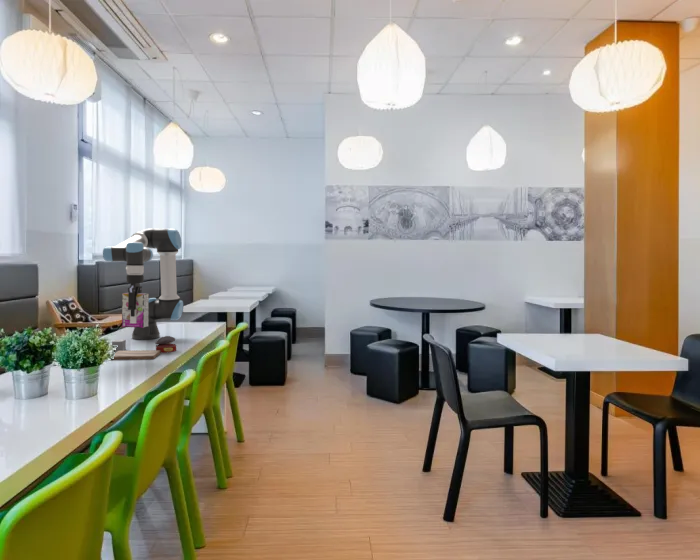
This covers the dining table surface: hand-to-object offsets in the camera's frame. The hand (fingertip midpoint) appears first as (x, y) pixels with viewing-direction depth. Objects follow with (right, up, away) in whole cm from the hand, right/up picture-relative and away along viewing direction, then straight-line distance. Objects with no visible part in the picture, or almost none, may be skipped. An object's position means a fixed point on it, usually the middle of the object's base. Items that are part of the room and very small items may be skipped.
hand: (135, 322), depth 228 cm
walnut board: (0, -17, +1) cm, 17 cm away
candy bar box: (0, -3, 0) cm, 3 cm away
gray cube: (-15, -16, +15) cm, 27 cm away
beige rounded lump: (+6, -16, +24) cm, 29 cm away
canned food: (+9, -17, +15) cm, 24 cm away
